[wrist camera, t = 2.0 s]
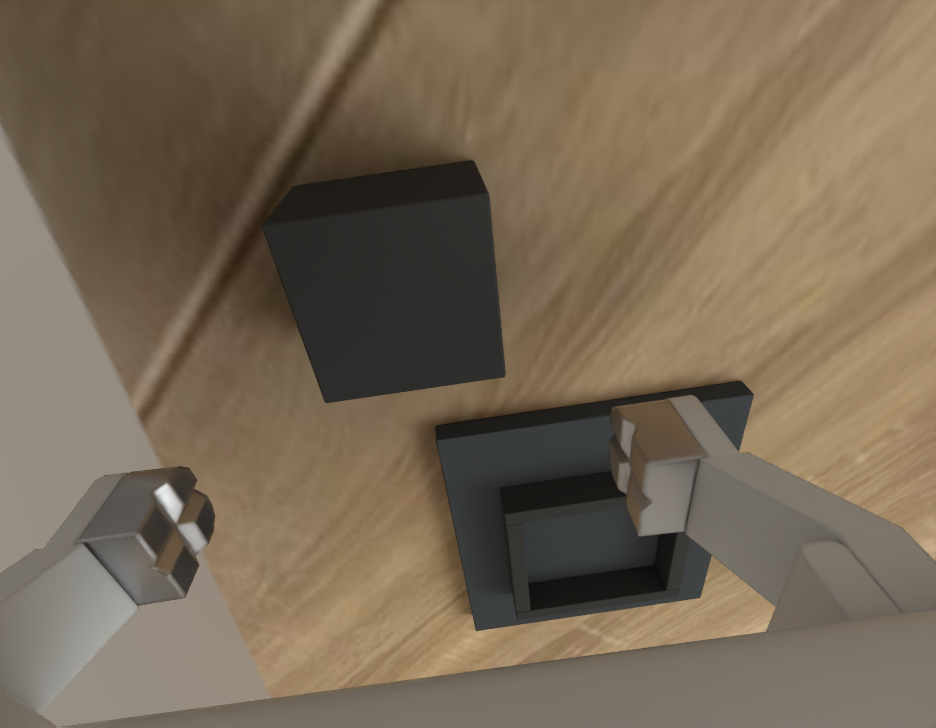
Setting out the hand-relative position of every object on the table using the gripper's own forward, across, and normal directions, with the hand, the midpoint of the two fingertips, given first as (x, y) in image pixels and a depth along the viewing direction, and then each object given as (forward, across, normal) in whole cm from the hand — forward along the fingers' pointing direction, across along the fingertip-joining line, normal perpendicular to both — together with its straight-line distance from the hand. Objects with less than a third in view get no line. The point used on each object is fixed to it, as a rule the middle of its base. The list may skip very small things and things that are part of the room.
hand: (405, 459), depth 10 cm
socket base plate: (+10, -7, +16) cm, 20 cm away
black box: (+10, 0, 0) cm, 10 cm away
